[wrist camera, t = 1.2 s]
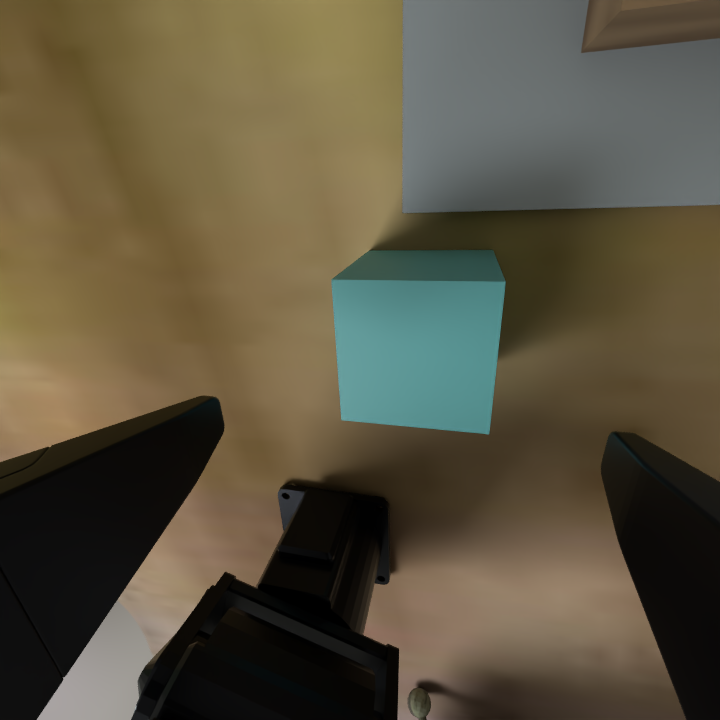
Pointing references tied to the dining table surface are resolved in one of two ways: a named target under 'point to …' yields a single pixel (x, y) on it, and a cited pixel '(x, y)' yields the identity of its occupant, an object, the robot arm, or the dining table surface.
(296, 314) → the dining table surface
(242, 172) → the dining table surface
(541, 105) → the build plate
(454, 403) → the teal brick
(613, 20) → the walnut brick
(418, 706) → the tabletop clock
